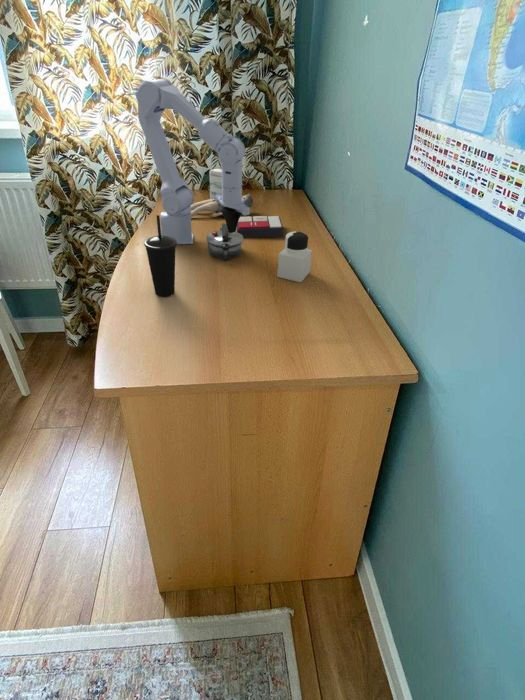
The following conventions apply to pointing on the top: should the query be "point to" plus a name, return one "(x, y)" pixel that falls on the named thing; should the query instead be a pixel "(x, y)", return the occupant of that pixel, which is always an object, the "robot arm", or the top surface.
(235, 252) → the pot
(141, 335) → the top surface
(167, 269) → the drinking cup
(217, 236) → the lid
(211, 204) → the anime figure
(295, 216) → the top surface
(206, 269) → the top surface
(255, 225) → the calculator
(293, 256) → the medicine bottle
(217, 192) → the ink box
